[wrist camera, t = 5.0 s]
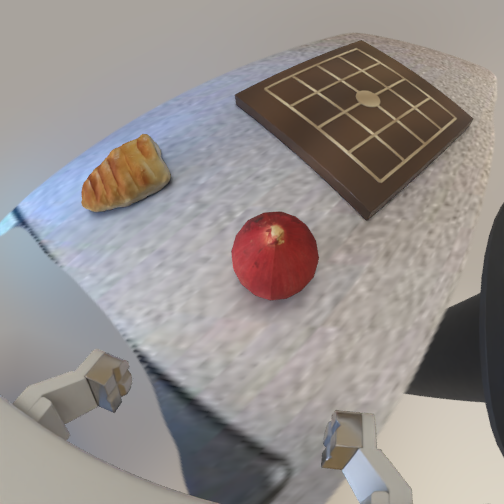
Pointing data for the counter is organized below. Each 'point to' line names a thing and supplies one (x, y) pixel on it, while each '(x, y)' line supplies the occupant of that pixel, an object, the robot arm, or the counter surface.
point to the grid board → (357, 121)
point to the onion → (274, 255)
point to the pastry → (126, 176)
